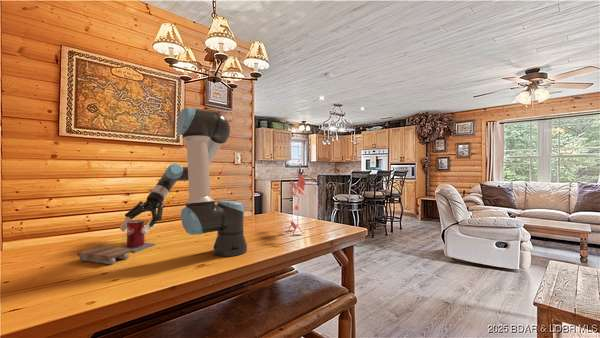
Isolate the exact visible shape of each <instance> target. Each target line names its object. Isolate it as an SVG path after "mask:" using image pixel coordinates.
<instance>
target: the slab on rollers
mask: <svg viewBox="0 0 600 338" xmlns="http://www.w3.org/2000/svg"><path fill="white" fill-rule="evenodd" d="M76 253H77V257H78V258H79V261H83V262H90V263H98V264H106V265H114V264H115V263H116V260H117V259H118V260H119V259H120V260H128V259H129V256H130V255H129V253H131V252H130V248H121V246H112V245H102V244H101V245H98V246H95V247H91V248H88V249H84V250H80V251H77V252H76Z"/></svg>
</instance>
